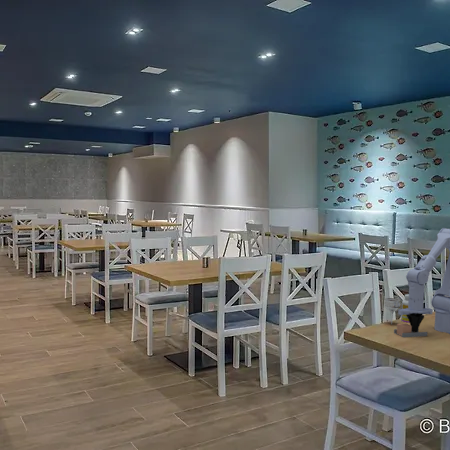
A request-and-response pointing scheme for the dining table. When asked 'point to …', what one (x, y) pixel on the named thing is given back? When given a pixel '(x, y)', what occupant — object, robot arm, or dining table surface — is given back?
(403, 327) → the block
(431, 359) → the dining table surface
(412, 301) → the robot arm
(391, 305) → the wineglass
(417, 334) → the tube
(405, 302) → the supplement bottle
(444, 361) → the dining table surface
